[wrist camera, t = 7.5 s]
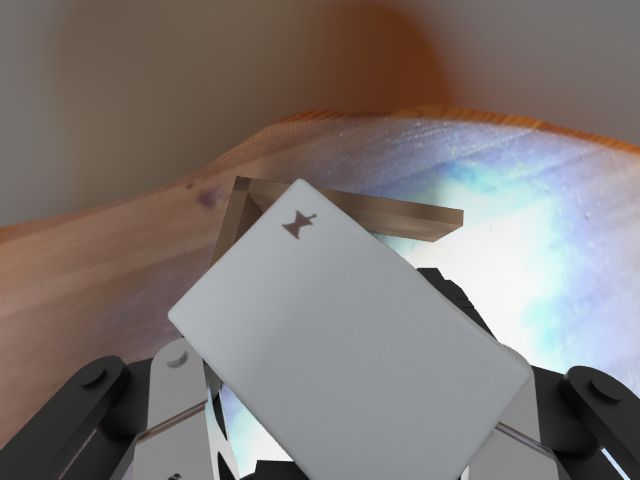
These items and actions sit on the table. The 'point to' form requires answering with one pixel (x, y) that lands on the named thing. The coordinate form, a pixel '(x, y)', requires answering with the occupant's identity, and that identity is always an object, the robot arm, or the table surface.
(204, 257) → the table surface
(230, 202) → the corner arena
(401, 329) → the skincare box
